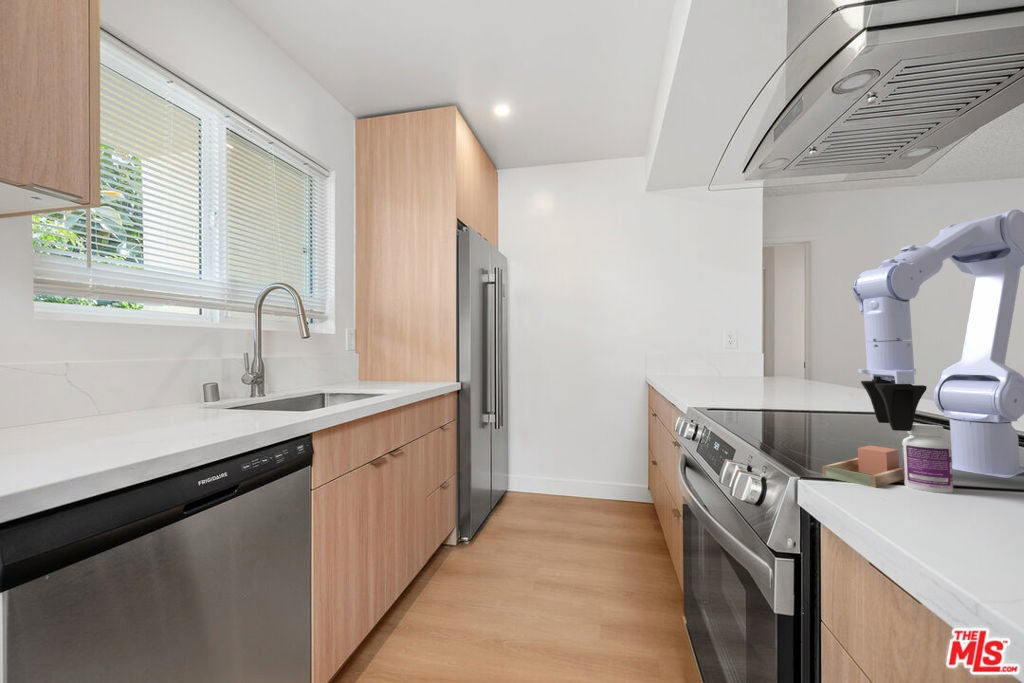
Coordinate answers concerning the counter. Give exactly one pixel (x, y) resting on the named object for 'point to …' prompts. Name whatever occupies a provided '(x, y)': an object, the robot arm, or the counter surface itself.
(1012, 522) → the counter surface
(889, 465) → the red block
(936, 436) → the pill bottle
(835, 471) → the box
